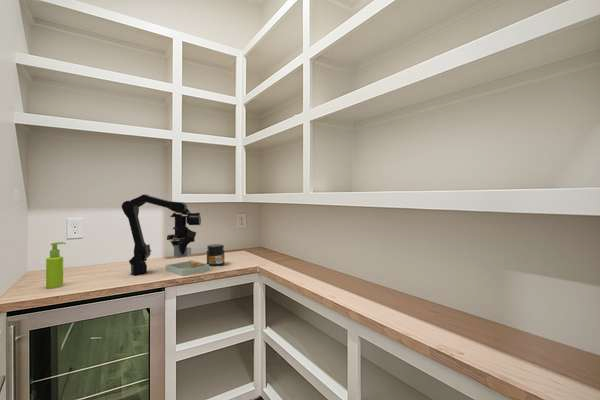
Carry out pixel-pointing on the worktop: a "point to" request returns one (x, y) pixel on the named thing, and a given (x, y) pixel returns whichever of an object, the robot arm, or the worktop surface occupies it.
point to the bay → (187, 268)
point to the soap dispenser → (54, 267)
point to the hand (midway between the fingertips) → (180, 254)
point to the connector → (178, 253)
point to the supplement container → (215, 255)
